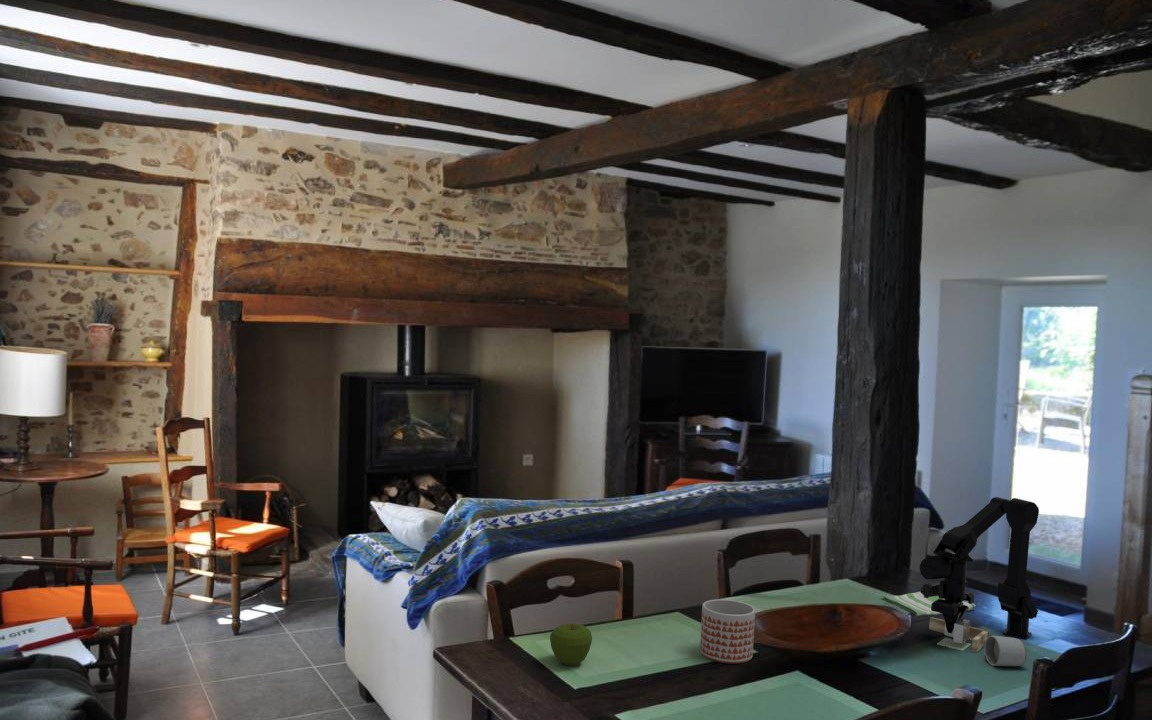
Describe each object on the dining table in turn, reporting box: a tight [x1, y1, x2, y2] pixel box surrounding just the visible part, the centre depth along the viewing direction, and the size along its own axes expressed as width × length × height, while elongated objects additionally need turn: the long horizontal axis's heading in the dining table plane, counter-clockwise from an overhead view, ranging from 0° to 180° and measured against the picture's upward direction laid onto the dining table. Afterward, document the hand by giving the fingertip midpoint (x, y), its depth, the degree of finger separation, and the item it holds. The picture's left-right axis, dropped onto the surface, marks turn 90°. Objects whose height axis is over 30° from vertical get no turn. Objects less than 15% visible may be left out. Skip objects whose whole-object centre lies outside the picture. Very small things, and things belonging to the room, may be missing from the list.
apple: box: [549, 623, 593, 667], centre depth 227 cm, size 11×10×10 cm
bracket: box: [943, 618, 971, 643], centre depth 255 cm, size 6×6×5 cm
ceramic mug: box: [984, 635, 1028, 667], centre depth 242 cm, size 11×8×8 cm
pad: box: [936, 637, 972, 652], centre depth 255 cm, size 7×7×1 cm
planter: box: [699, 598, 756, 665], centre depth 238 cm, size 14×14×13 cm
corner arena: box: [928, 616, 990, 654], centre depth 259 cm, size 11×16×4 cm
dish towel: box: [881, 591, 977, 617], centre depth 292 cm, size 18×23×3 cm
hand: (951, 631), depth 257 cm, fingers closed on bracket, 2 cm apart
